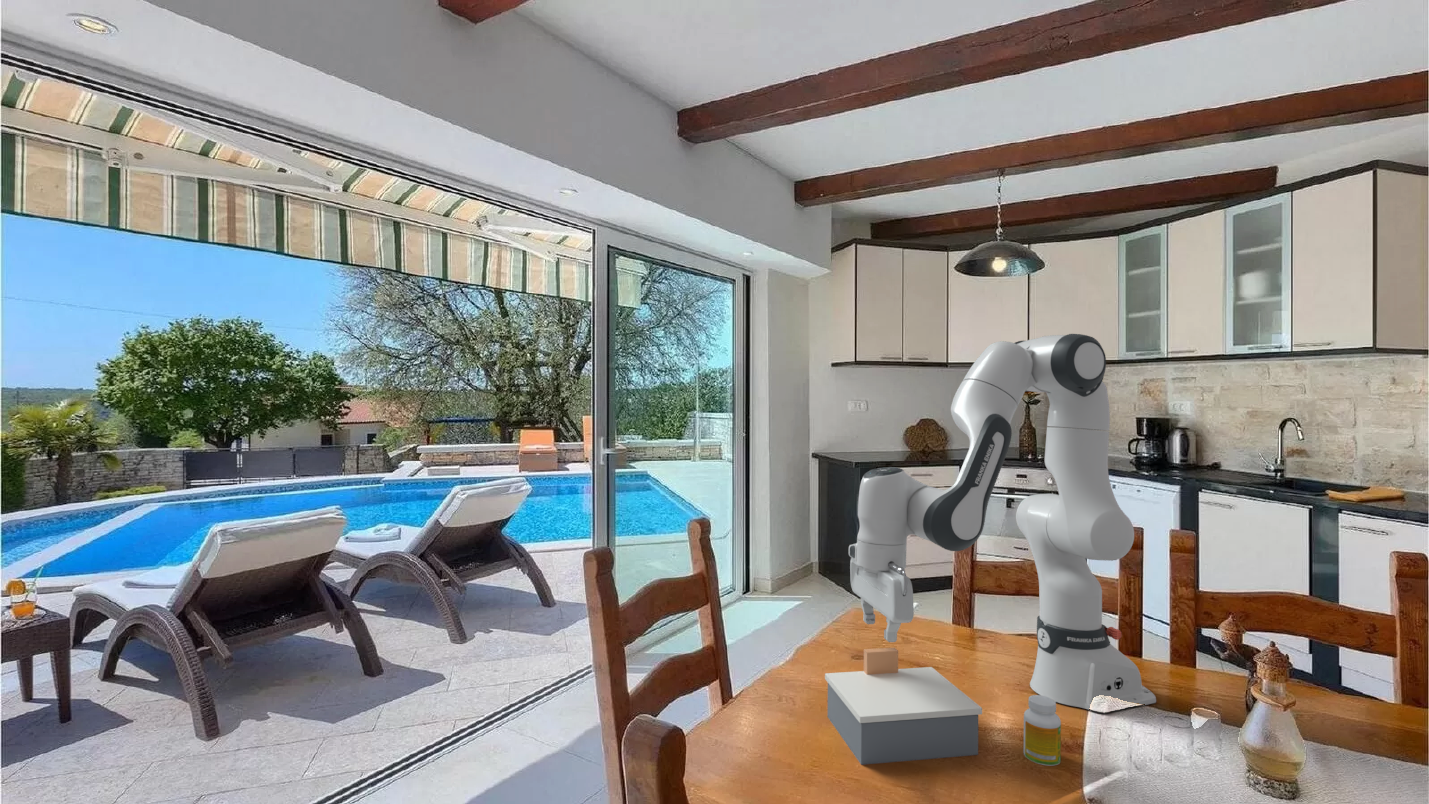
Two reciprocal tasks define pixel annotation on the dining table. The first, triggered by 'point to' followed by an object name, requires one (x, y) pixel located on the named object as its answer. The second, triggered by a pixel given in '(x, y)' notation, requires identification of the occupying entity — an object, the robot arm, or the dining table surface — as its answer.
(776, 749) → the dining table surface
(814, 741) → the dining table surface
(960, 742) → the tub
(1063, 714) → the dining table surface
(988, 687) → the dining table surface
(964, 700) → the lid
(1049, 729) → the supplement bottle
